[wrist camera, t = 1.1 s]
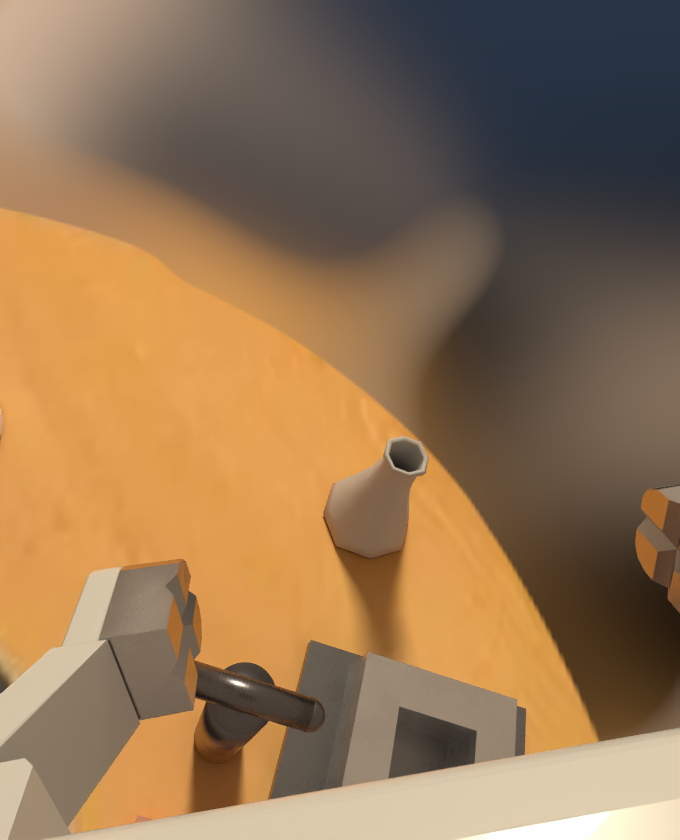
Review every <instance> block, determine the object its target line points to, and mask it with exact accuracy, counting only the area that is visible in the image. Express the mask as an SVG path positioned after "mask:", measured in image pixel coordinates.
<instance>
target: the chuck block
mask: <svg viewBox="0 0 680 840" xmlns="http://www.w3.org/2000/svg"><path fill="white" fill-rule="evenodd" d="M296 692H297V693H300V694H303V695H306V696H310V697H313V698H316V699H318V700H319V701H320V702H321V703H322V704H323V706H324V708H325V712H326V717H325V721H324V723H323V725H322V727H321V728H320V729H319V730H317V731H315V732H310V733H308V732H304V731H300V730H297V729H294V728H291V727H288V726H287V728H286V732H285V736H284V740H283V744H282V748H281V751H280V755H279V759H278V763H277V767H276V771H275V775H274V779H273V782H272V786H271V790H270V794H269V798H268V800H269V799H275V798H281V797H287V796H292V795H298V794H304V793H309V792H315V791H321V790H327V789H332V788H338V787H344V786H350V785H355V784H361V783H367V782H372V781H378V780H384V779H390V778H395V777H401V776H407V775H412V774H418V773H424V772H430V771H435V770H441V769H447V768H453V767H458V766H464V765H470V764H476V763H481V762H487V761H493V760H499V759H504V758H510V757H516V756H522V755H525V723H526V709H525V708H522V707H519V706H517V699H514V698H511V697H507V696H504V695H501V694H498V693H495V692H492V691H489V690H486V689H482V688H479V687H476V686H473V685H470V684H467V683H464V682H461V681H458V680H454V679H451V678H448V677H445V676H442V675H439V674H436V673H433V672H430V671H426V670H423V669H420V668H417V667H414V666H411V665H408V664H405V663H402V662H398V661H395V660H392V659H389V658H386V657H383V656H380V655H377V654H374V653H370V652H367V653H366V654H365V655H364V656H359V655H356V654H353V653H350V652H347V651H344V650H341V649H338V648H335V647H331V646H328V645H325V644H322V643H319V642H316V641H313V640H311V641H310V642H309V643H308V647H307V651H306V654H305V658H304V662H303V666H302V670H301V674H300V678H299V682H298V685H297V689H296Z"/></svg>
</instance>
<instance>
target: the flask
mask: <svg viewBox="0 0 680 840" xmlns="http://www.w3.org/2000/svg"><path fill="white" fill-rule="evenodd" d="M428 459H429V457H428V455H427V453H426V451H425V449H424V447H423V445H422V443H421V442H419V441H416V440H414V439H411V438H408V437H406V436H402V437H397V438H392V439H388V441H387V444H386V448H385V452H384V456H383V457H382V458H381V459H380V460H379V461H377V462H376V463H375V464H374V465H373V466H372V467H370V468H367V469H365V470H363V471H361V472H359V473H357V474H355V475H353V476H350V477H348V478H346V479H343V480H341V481H338V482H336V483H334V484H333V485H332V488H331V491H330V494H329V497H328V500H327V504H326V507H325V510H324V513H323V514H324V516H325V519H326V522H327V524H328V527H329V529H330V532H331V535H332V537H333V540H334V543H335V545H336V546H337V547H340V548H342V549H345V550H348V551H351V552H353V553H356V554H359V555H361V556H364V557H367V558H369V559H371V558H375V557H378V556H381V555H385V554H388V553H392V552H395V551H398V550H402V546H403V542H404V537H405V533H406V528H407V524H408V519H409V493H410V488H411V485H412V483H413V482H414V480H415V479H416V477H417V476H422V475H424V474H425V473H426V468H427V463H428Z"/></svg>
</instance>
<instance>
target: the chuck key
mask: <svg viewBox="0 0 680 840" xmlns="http://www.w3.org/2000/svg"><path fill="white" fill-rule="evenodd" d="M194 663H195V667H196V670H197V674H198V677H197V685H196V693H195V698H197V699H200V700H204V701H206V704H205V706H204V709H203V712H202V714H201V717H200V719H199V722H198V725H197V727H196V730H195V735H194V743H195V747H196V750H197V752H198V753H199V755H200V756H201V757H202V758H203V759H204V760H206V761H208V762H210V763H223V762H226V761H228V760H229V759H231V758H232V757H233V756H234V755H235V754H236V753H237V752H238V751H239V750H240V749H241V748H242V747H243V746H244V745H245V744H246V743H247V742H248V741H249V740H251V739H252V738H253V737H254V736H255V735H256V734H257V733H258V732H259V731H260V730H261V729H262V728H263V727H264V726H265V725H266V724H267V722H268V721H271V722H275V723H278V724H281V725H284V726H288V727H291V728H294V729H297V730H300V731H304V732H308V733H310V732H315V731H317V730H319V729H320V728H321V727H322V725H323V723H324V721H325V717H326V712H325V708H324V706H323V704H322V703H321V702H320V701H319V700H318V699H316V698H313V697H310V696H306V695H303V694H300V693H297V692H294V691H290V690H287V689H284V688H281V687H278V686H275V684H274V682H273V680H272V678H271V676H270V675H269V674H268V673H267V672H266V671H265V670H264V669H263V668H262V667H260V666H258V665H256V664H253V663H246V662H245V663H237V664H234V665H231V666H229V667H228V668H226V669H225V670H223V669H220V668H217V667H214V666H211V665H208V664H204V663H201V662H198V661H195V660H194Z"/></svg>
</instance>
